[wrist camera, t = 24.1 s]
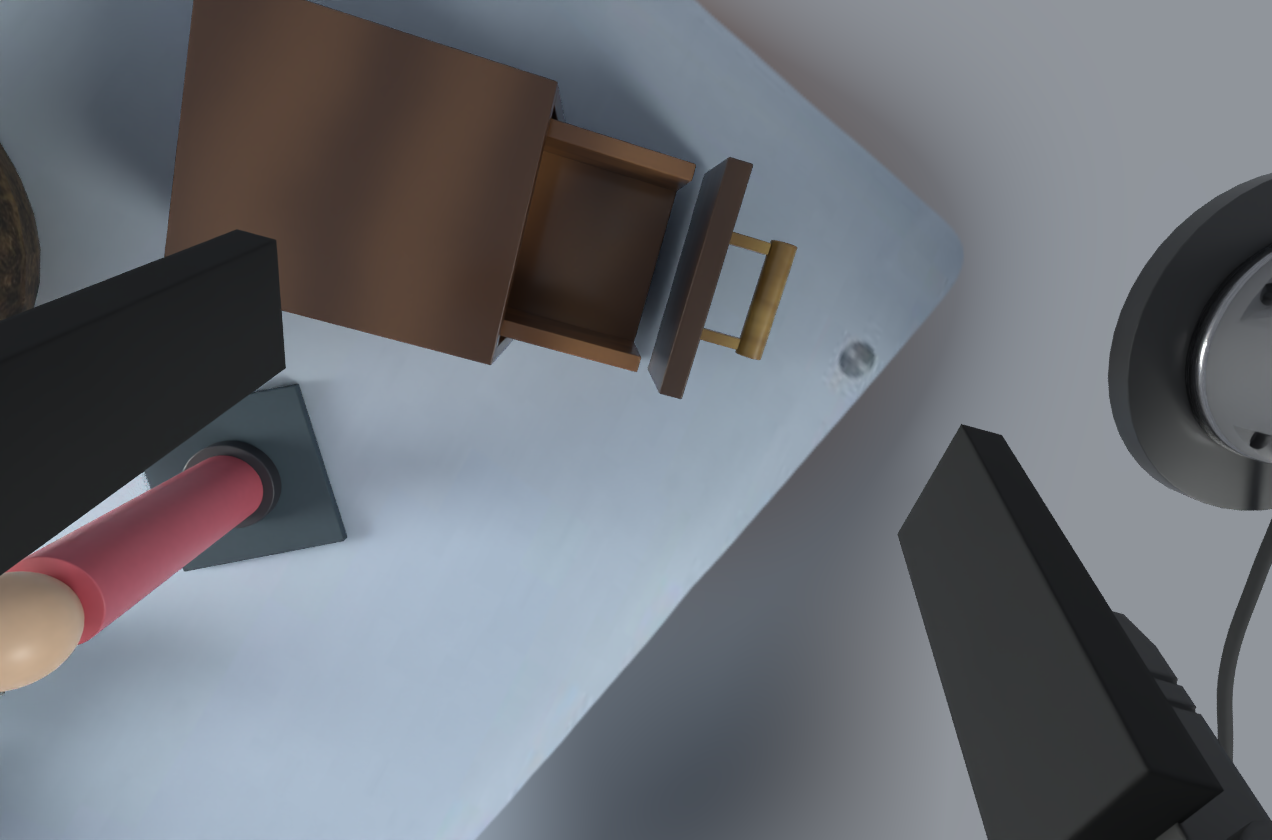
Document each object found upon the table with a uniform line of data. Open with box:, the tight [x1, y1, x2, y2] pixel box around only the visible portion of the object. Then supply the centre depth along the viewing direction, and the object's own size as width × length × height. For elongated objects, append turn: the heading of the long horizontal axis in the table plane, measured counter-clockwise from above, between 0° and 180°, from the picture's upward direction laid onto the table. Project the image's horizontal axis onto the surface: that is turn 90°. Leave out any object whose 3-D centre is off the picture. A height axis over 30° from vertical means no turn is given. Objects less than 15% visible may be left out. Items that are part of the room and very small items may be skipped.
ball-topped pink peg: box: [0, 441, 281, 692], centre depth 31 cm, size 5×5×18 cm
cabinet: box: [164, 0, 565, 365], centre depth 32 cm, size 15×13×9 cm
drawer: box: [500, 118, 797, 399], centre depth 34 cm, size 17×11×7 cm, turn 74°
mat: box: [145, 384, 347, 571], centre depth 40 cm, size 10×10×1 cm
